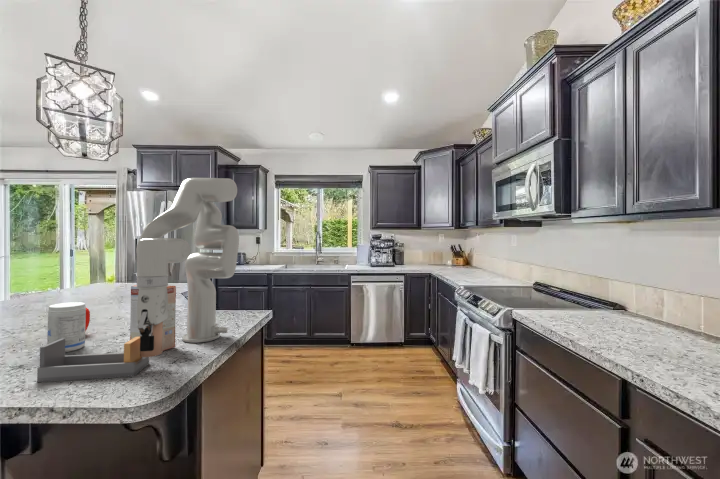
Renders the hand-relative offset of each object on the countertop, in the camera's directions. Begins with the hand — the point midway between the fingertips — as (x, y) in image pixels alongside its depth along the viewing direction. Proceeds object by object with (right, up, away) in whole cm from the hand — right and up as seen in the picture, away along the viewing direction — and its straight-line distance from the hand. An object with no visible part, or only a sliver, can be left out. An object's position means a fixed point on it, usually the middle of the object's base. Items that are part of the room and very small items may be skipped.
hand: (151, 346), depth 95 cm
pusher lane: (-13, -6, -2) cm, 15 cm away
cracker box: (-11, -7, +19) cm, 23 cm away
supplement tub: (-38, -6, +17) cm, 43 cm away
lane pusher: (-5, -5, -1) cm, 7 cm away
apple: (-49, -6, +32) cm, 59 cm away
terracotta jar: (0, -2, 0) cm, 2 cm away
